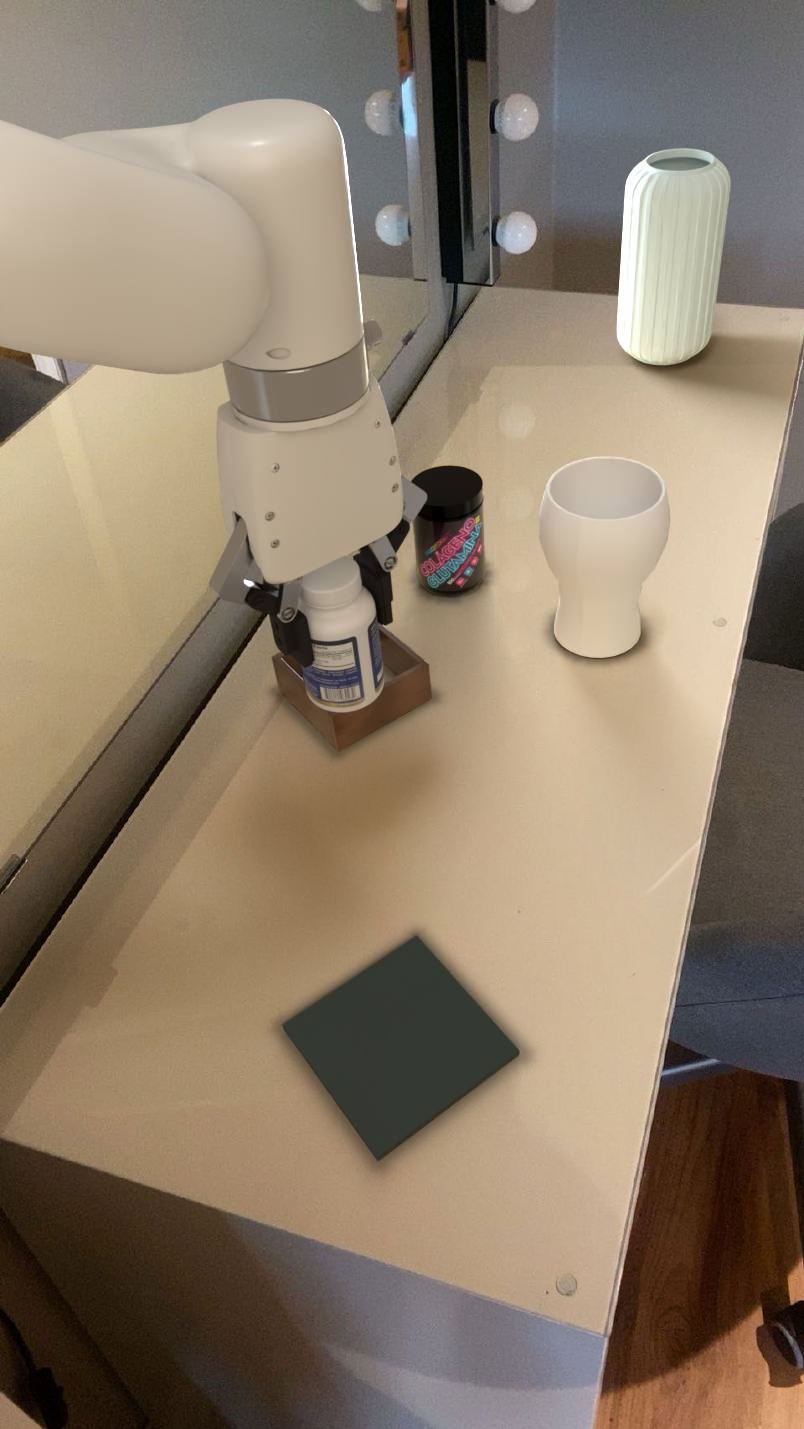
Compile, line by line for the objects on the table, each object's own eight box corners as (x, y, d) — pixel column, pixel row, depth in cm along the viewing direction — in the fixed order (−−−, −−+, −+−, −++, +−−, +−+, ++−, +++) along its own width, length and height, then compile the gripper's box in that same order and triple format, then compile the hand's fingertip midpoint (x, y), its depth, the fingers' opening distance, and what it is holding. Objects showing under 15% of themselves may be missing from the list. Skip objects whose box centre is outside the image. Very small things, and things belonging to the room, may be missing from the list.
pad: (377, 1161, 62) (376, 1157, 62) (282, 1028, 69) (281, 1024, 69) (519, 1054, 66) (519, 1050, 66) (417, 938, 73) (416, 934, 73)
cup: (681, 625, 94) (700, 481, 84) (607, 687, 89) (618, 541, 79) (587, 579, 100) (594, 438, 89) (513, 635, 95) (511, 493, 85)
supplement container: (405, 590, 101) (395, 497, 94) (435, 551, 105) (428, 459, 98) (468, 606, 99) (464, 512, 91) (497, 565, 103) (495, 472, 95)
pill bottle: (347, 650, 74) (330, 535, 67) (401, 684, 71) (389, 567, 64) (289, 690, 71) (266, 575, 65) (343, 727, 69) (324, 610, 62)
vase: (718, 336, 133) (743, 145, 117) (697, 378, 126) (721, 180, 110) (629, 326, 137) (642, 140, 121) (604, 366, 130) (614, 174, 114)
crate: (338, 751, 87) (332, 717, 84) (278, 690, 92) (270, 656, 90) (432, 698, 90) (429, 663, 87) (368, 642, 96) (364, 608, 93)
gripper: (385, 301, 61) (407, 557, 74) (119, 403, 54) (193, 664, 67) (467, 342, 56) (476, 606, 69) (187, 458, 50) (253, 727, 62)
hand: (336, 632), depth 68 cm, fingers closed on pill bottle, 5 cm apart
